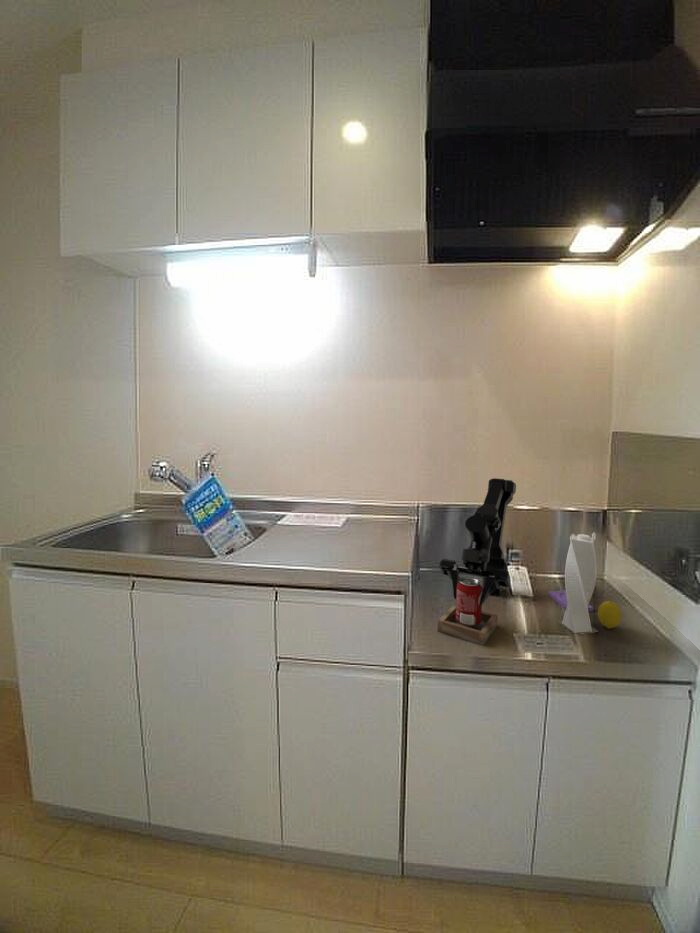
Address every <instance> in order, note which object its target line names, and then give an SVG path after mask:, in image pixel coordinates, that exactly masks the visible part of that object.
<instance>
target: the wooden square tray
mask: <svg viewBox="0 0 700 933" xmlns="http://www.w3.org/2000/svg"><path fill="white" fill-rule="evenodd" d="M497 625H498V614H494V613H490V612H486V611H483V610H481V623H480V624H479V625H477V626H474V627H467V626H463V625H461V624H460V623H458V622H457V621H456V603H454V604H453V605H452V606H451V607H450V608H448V610H447V611H445V613H444V614H443V615H442V616H441V617H440V618H439V619H438V620H437V632H439V633H441V634H445V635H449V636H451V635H452V637H456V638H458V637H459V639H462V640H465V641H468V642H472V643H475V644H478V645H481V646H484V645H485V644H486V642H487V641H488V639H489V638H490V636H491V635H492V634H493V633H494V630H495V629H496V628H497Z"/></svg>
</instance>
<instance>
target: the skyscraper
mask: <svg viewBox="0 0 700 933" xmlns="http://www.w3.org/2000/svg"><path fill="white" fill-rule="evenodd" d="M569 540H570V542H569V547H568V551H567V554H566V555H567V556H566V561H565V567H564V568H565V570H564V585H565V590H566V597H567V603H568V604H567V608H565V611H564V614H563V618H562V620H558V621H557V623H559V624H560V625H562V627H563V628H565V629H566V630H567V631H569V632H570V631H571V633H572V634H573V633H574V634H577V635H582V634H581V633H588V634H596V633H595V632H598V633H599V630H597V629H596V628H594V627H593V626H592V624H591V619H590V614H589V612H590V611H588V607H587V606H588V605H590V601H591V599H592V596H593V593H594V590H595V587H596V581H597V574H598V573H597V572H598V571H597V570H598V569H597V568H598V566H597V555H596V548H595V541H596V540H597V533H596V532H595V531H594V532H592V534H591V536H590V535H588V534H582V533H579V534H577V535H575V533H571V535H570V536H569ZM574 634H573V635H574Z"/></svg>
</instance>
